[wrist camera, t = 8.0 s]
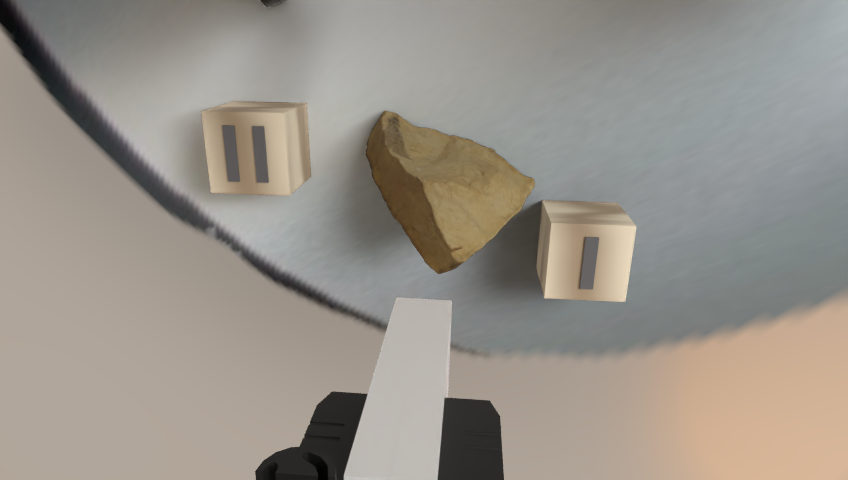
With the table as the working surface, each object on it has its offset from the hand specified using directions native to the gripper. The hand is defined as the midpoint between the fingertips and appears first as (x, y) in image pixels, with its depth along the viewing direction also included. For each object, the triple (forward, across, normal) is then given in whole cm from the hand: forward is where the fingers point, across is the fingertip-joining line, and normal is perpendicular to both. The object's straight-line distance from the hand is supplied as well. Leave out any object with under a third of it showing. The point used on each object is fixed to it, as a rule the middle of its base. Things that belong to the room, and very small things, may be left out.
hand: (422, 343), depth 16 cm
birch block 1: (+25, -12, +1) cm, 27 cm away
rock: (+25, 0, 0) cm, 25 cm away
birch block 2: (+25, +9, -5) cm, 27 cm away
